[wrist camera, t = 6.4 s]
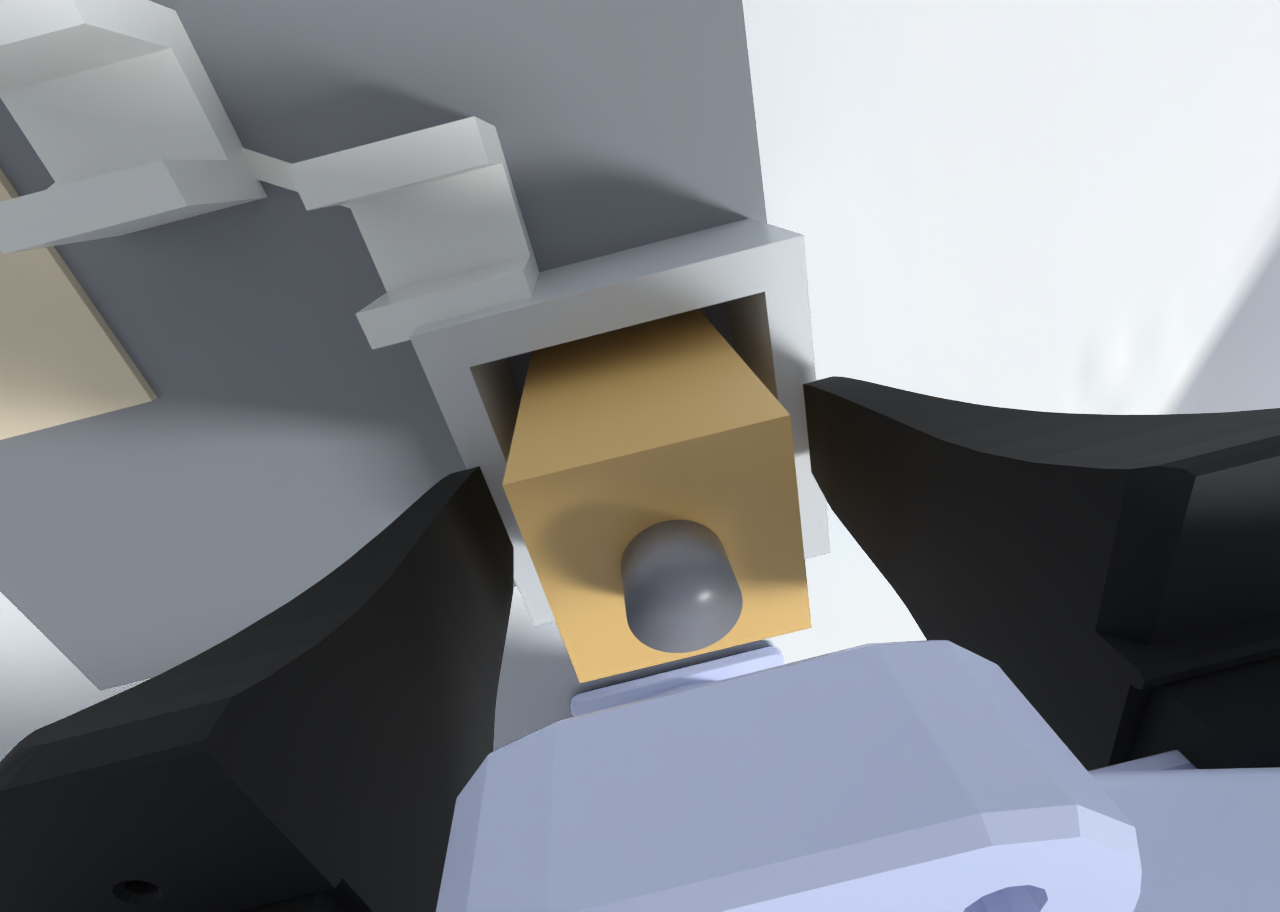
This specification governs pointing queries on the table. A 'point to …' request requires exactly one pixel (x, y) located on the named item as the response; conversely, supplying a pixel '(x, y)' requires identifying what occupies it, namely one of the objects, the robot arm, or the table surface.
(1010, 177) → the table surface
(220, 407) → the cable board
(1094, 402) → the table surface
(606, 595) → the connector plug
